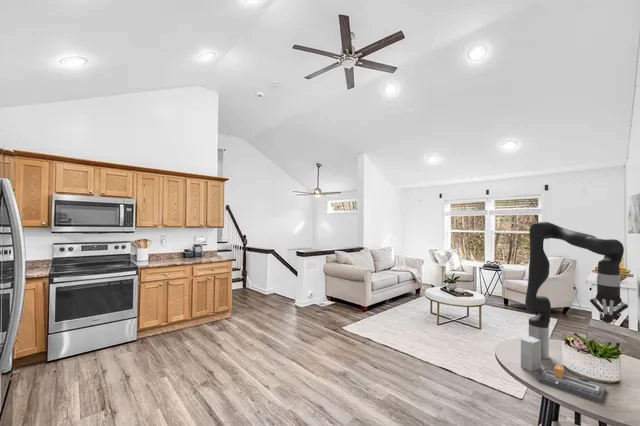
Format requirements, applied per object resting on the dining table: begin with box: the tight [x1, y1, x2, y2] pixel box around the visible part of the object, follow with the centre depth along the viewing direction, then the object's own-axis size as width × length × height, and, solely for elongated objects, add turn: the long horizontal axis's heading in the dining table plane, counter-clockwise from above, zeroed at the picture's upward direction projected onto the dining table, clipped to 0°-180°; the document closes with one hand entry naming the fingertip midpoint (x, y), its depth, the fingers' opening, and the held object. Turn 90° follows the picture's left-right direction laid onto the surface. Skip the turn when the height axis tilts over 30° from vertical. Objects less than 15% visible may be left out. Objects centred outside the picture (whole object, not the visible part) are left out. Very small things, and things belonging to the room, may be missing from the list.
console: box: [537, 367, 606, 404], centre depth 141 cm, size 14×22×4 cm, turn 42°
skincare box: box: [520, 335, 542, 372], centre depth 157 cm, size 8×6×15 cm
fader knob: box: [553, 364, 565, 379], centre depth 142 cm, size 4×3×6 cm
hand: (608, 322), depth 136 cm, fingers closed
